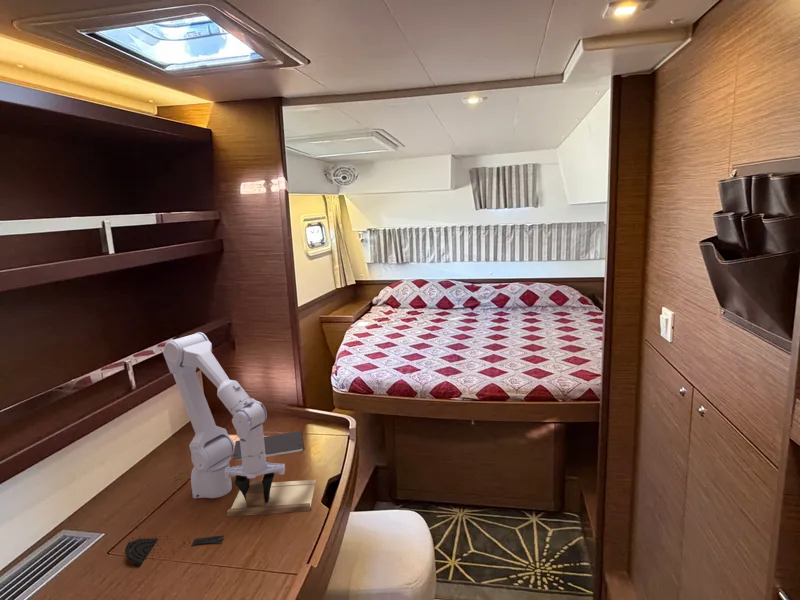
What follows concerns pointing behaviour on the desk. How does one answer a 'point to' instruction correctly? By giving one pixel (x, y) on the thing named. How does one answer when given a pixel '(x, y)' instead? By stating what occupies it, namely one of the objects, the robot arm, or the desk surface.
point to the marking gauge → (255, 494)
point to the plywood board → (279, 499)
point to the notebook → (277, 445)
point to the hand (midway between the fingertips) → (258, 500)
